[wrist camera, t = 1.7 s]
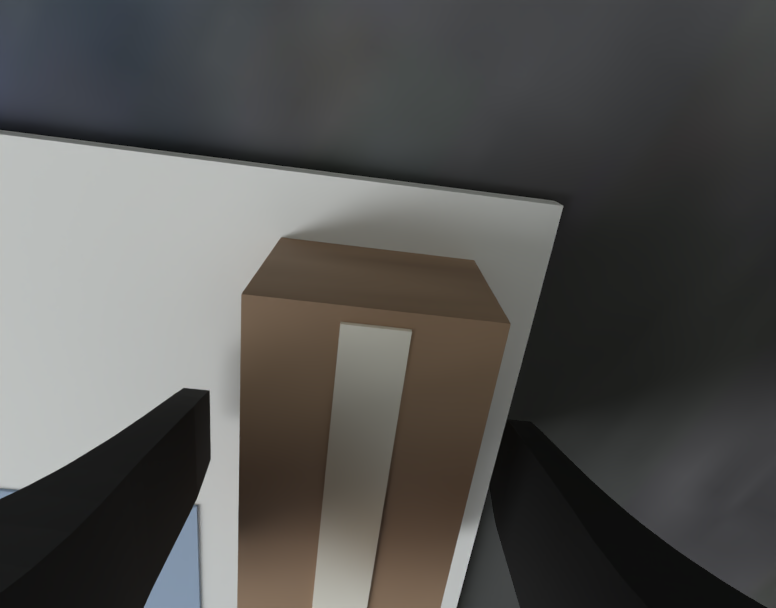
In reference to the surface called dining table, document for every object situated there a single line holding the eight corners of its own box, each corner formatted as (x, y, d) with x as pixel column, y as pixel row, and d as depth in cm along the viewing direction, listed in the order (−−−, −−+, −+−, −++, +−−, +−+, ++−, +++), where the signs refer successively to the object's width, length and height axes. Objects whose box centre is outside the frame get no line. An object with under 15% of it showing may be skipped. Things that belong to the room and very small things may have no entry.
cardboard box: (416, 540, 15) (427, 667, 12) (268, 528, 15) (235, 654, 11) (474, 260, 12) (512, 326, 8) (281, 237, 11) (239, 296, 8)
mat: (423, 708, 19) (425, 729, 19) (-116, 676, 18) (-134, 697, 17) (554, 200, 12) (564, 207, 11) (-369, 82, 10) (-418, 81, 10)
